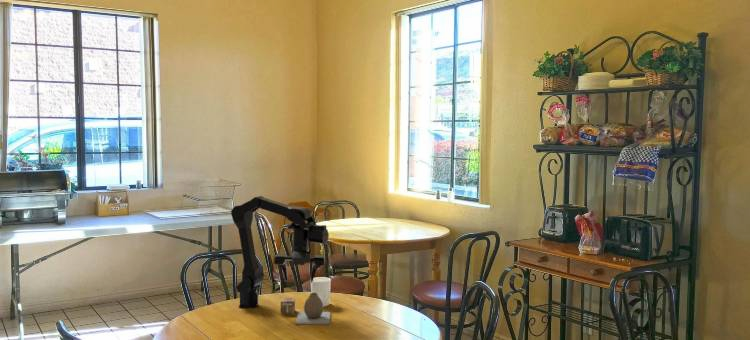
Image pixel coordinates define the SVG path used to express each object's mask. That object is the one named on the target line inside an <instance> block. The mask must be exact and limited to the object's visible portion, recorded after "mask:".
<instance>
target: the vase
mask: <svg viewBox="0 0 750 340" xmlns="http://www.w3.org/2000/svg"><path fill="white" fill-rule="evenodd" d="M303 309H304V311H303V312H305V314H306V316H307V317H308V318H310V319H316V318H319V317H320V316H321V314H322V312H324V307H323V303H322V301H321V299H320V298H319V297H318V295H317V293H311V292H310V294H309V295H308V297H307V298H306V300H305V302H304V305H303Z"/></svg>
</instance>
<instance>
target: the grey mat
mask: <svg viewBox="0 0 750 340" xmlns="http://www.w3.org/2000/svg"><path fill="white" fill-rule="evenodd" d="M295 321H296V322H295V325H330V324H331V311H330V312H329V311H323V312H322V314H321V316H320V317H319V318H316V319H310V318H308V317H307V316H306V314H305V311H298V313H297V316H296V320H295Z"/></svg>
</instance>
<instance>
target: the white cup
mask: <svg viewBox="0 0 750 340" xmlns="http://www.w3.org/2000/svg"><path fill="white" fill-rule="evenodd" d="M331 284H332V278H329V277H323V276H318V277H314V278H313V281H312V283H311V282H310V294H311V293H317V295H318V297H319V298H320V299H321V301H322V303H323V308H324V307H327V306H329V305H330V297H331Z"/></svg>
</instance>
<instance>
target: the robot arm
mask: <svg viewBox="0 0 750 340" xmlns="http://www.w3.org/2000/svg"><path fill="white" fill-rule="evenodd" d="M259 209H261V210H265V211H267V212H271V213H274V214H276V215H280V216H283V217H284V218H285V219H287V220H288V221H290V222H291V223H290V225H289V226H287V229H289V230H292V250H291V256H287V254H286V253H276V255H275V256H274V259H273V263H274V265H277V267H280V268H281V270H282V273H283V275H284V279H285V282H286V283H288V282H289V281H288V280H289V274H288V272H289V271H288V262H290V263H291V265H293V266H296V265H300V266H304V265H306V263H313V265H312V270H311V278H310V284H311V283H312V281H313V278H315V275H316V272H317V271H318V269H319V268H321V267H322V266H325V263H326V256H325V255H324V254H315V255H314V257H313V256H312V255H311V252H312V251H309V242H310V243H314V244H320V245H321V244H322V245H326V244H327V243H328V242H329V241H328V240H329V231H328V228H327V225H326V224H321V225H320V224H317V223H316V221H315V219H314V217H313V216H312V212H311V211H310V209H309V208H308V207H306V206H298V205H297V206H295V205H289V204H286V203H282V202H280V201H275V200H273V199H269V198H266V197H264V196H263V195H259V196H255V197H253V198H252V199H250V200H248V201H246V202H244V203H242V204H239V205H235V206H234V207H233V208H232V209H231V211H230V215H231V218H232V221H233V224H235V226H236V228H237V231H238V235H239V236H238V237H239V240H240V241H239V242H240V248H241V253H242V254H241V255H242V259H243V268H242V271H241V272H242V273H241V281H240V282H239V283H238V284H237V285H236V287H235V288H236V291H237V292H238V293H239V306H238V308H240V309H241V308H256V307H257V306H258V305H259V299H260V298H259V292H258V289H259V288H260V287H261V284H262V283H263V281H264V277H265V276H266V275H265V273H264V266H263V265H261V266H260V265H259V264H258V262H257V258H256V257H257V256H256V251H255V244H254V237H253V231H252V223H253V219H254V213H255V212H256V211H258V210H259Z"/></svg>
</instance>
